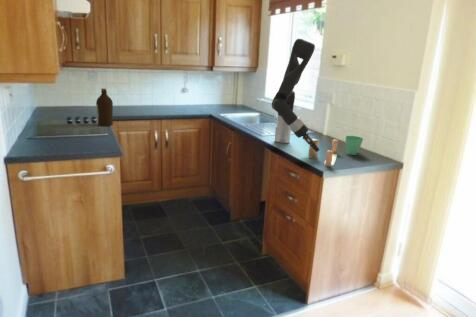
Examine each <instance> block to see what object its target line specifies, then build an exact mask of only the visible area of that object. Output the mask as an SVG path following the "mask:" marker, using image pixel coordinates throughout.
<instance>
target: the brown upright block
mask: <svg viewBox="0 0 476 317" xmlns="http://www.w3.org/2000/svg"><path fill="white" fill-rule="evenodd" d="M312 140H313V142H314V143H315V145H316V146H317V147H318V148H319V145H320V139H316V138H312ZM312 144H313V143H311V145H312ZM308 148H309V149H308V156H307V157H308V158H310V159H318V154H319V153H318V152H319V151H318V152H316V151H315V150H314V149H313V148H312V147H311V146H310V145H309V147H308Z"/></svg>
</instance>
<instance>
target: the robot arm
mask: <svg viewBox="0 0 476 317" xmlns="http://www.w3.org/2000/svg"><path fill="white" fill-rule="evenodd" d="M315 50H316V44H314V43H313V42H311V41H308V40H305V39H303V38H297V39H296V40H295V41H294V43H293V45H292V48H291V51H290V56H289V60H288V63H287V66H286V69H285V72H284V76H283V80H282V81H281V83H280V86H279V88H278V90H277V92H276V94H275V96H274V98H273V99H272V101H271V108H272V109H273V110H274V111H275V112H276V113H277V120H276V121H277V122H276V127H275V133H274V134H275V135H274V142H276V143H281V144H289V143H291V142H290V141H291V132H292V133H293V134H294V135H295V137H297V138H302V140H303V141H304V142H306V144H307V145H309V146H311V147H312V148H313V149H314V150H315V151H316V152H319V151H320V148H319V147H317V146H316V145H315V143H314V142H313V140H312V139H313V138H312V137H311V135H310V134H309V133H308V131H309V128H308V127H307V125H306V124H305V123H304V122H303V120H301V119H300V117H298V115H297V114H296V113H295V112H294V107H295V106H294V104H295V99H296V93H295V91H294V88H295V86H296V85H298V84H299V82H300V80H301V78H302V77H301V76H302V74H303V72H304V71H305V69H306V67H307V65H308V63H309V62H310V59H311V58H312V57H313V54H314V52H315ZM298 58H299V59H301V60H302V61H301V62H300V61H299V59H298ZM311 143H313V144H312V145H311Z"/></svg>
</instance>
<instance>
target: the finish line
mask: <svg viewBox="0 0 476 317" xmlns="http://www.w3.org/2000/svg"><path fill="white" fill-rule="evenodd" d="M338 144H339V140H338V139H332V144H331V150H330V149H329V150H327V151H326V156H325V161H324V163H323V165H324V166H325V167H328V168H329V167H332V166H334V165H335V162H336V160H337V157H338V154H337V151H338Z"/></svg>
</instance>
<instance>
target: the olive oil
mask: <svg viewBox="0 0 476 317" xmlns="http://www.w3.org/2000/svg"><path fill="white" fill-rule="evenodd" d="M100 92H101V94H100V95H99V97H98V98H97V99H96V102H95V103H96V115H97V125H98V126H99V127H111V126H113V125H114V124H113V120H114V119H113V115H114V114H113V112H114V111H113V108H114V107H113V104H114V103H113V100H112V98H111V97H110V96H109V95H108V92H107V88H101V91H100Z"/></svg>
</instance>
